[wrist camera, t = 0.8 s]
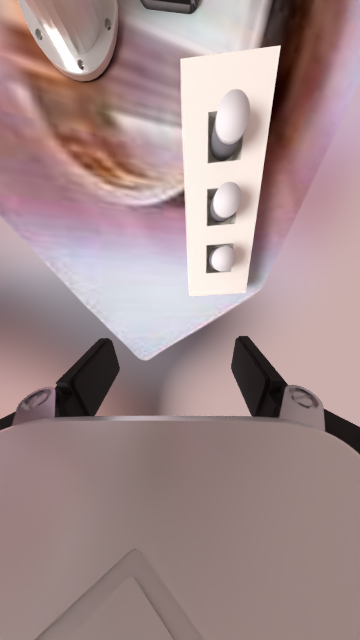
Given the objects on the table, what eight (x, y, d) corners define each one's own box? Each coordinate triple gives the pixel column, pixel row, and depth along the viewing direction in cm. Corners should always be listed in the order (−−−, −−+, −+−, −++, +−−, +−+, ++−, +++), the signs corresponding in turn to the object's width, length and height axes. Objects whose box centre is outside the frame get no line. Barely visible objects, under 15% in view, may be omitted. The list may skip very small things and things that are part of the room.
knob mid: (209, 195, 23) (214, 183, 19) (233, 193, 23) (243, 180, 19) (208, 223, 25) (213, 217, 21) (230, 221, 25) (240, 215, 21)
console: (180, 100, 21) (180, 58, 17) (259, 91, 21) (280, 45, 16) (188, 290, 34) (189, 296, 30) (237, 287, 34) (245, 292, 29)
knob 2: (208, 248, 26) (212, 247, 23) (228, 246, 26) (237, 245, 22) (207, 270, 28) (211, 272, 24) (227, 268, 28) (234, 270, 24)
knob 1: (210, 123, 20) (217, 91, 16) (238, 120, 20) (252, 87, 16) (209, 162, 21) (215, 141, 17) (235, 159, 21) (247, 138, 17)
